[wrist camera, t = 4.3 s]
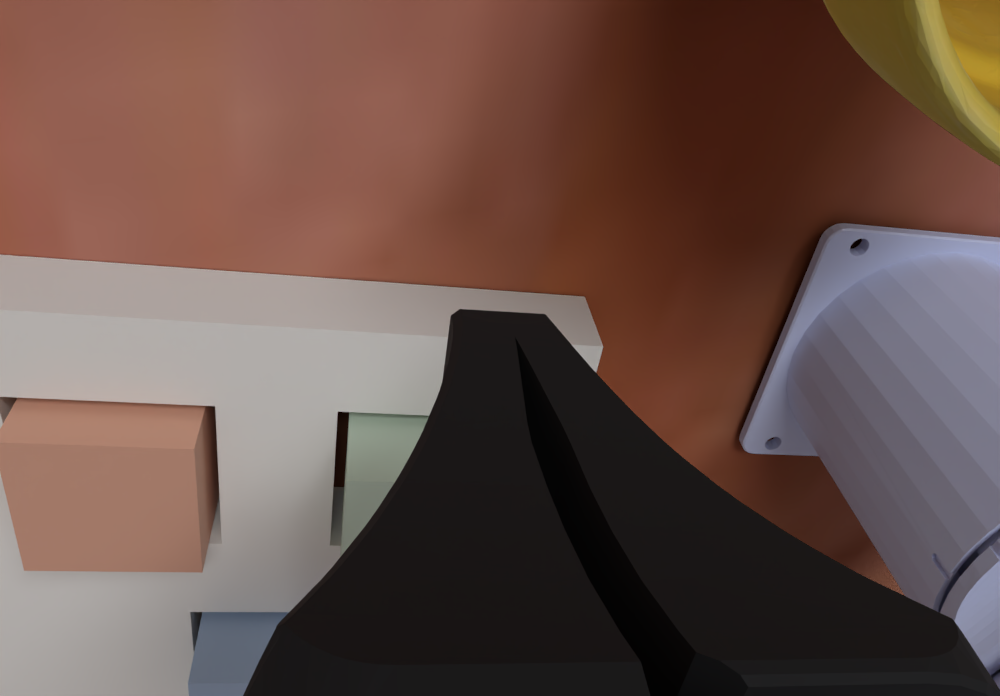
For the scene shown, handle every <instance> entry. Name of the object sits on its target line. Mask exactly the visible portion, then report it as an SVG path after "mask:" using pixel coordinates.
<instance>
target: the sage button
mask: <svg viewBox="0 0 1000 696" xmlns="http://www.w3.org/2000/svg"><path fill="white" fill-rule="evenodd" d="M428 417H429V416H426V415H404V414H381V413H358V412H349V422H348V437H347V452H346V467H345V482H344V497H343V512H342V530H341V550H340V557H341V556H342V554H343V553H344V552H345V551H346V549H347V548H348V547H349V546H350V544H351V543H352V542H353V541H354V539H355V538H356V537H357V536H358V534H359V533H360V532H361V531H362V529H363V528H364V527H365V526H366V524H367V523H368V522H369V520H370V519H371V517H372V516H373V515H374V513H375V512H376V510H377V509H378V507H379V506H380V504H381V503H382V501H383V500H384V498H385V497H386V495H387V494H388V492H389V490H390V489H391V487H392V486H393V484H394V483H395V481H396V480H397V478H398V476H399V475H400V473H401V471H402V469H403V468H404V466H405V464H406V462H407V461H408V459H409V457H410V455H411V453H412V451H413V449H414V448H415V446H416V444H417V442H418V440H419V438H420V436H421V433H422V431H423V429H424V427H425V424H426V422H427V420H428Z"/></svg>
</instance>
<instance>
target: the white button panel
mask: <svg viewBox="0 0 1000 696" xmlns="http://www.w3.org/2000/svg"><path fill="white" fill-rule="evenodd" d="M459 309H468V310H486V311H503V312H520V313H537V314H546V315H547V317H548V318H549V319H550V320H551V321H552V322H553V323H554V325H555V326H556V327H557V328H558V329H559V330H560V332H561V333H562V334H563V335H564V336H565V338H566V339H567V340H568V341H569V342H570V344H571V345H572V346H573V347H574V348H575V349H576V351H577V352H578V353H579V354H580V355H581V356H582V357H583V359H584V360H585V361H586V362H587V363H588V364H589V366H590V367H591V368H592V369H593V370H594V371H595V372H597V368H598V364H599V361H600V357H601V353H602V349H603V345H602V342H601V339H600V336H599V334H598V331H597V328H596V326H595V323H594V320H593V318H592V315H591V312H590V310H589V307H588V304H587V301H586V299H585V297H583V296H569V295H555V294H542V293H528V292H514V291H500V290H486V289H472V288H458V287H444V286H430V285H416V284H402V283H388V282H374V281H360V280H346V279H332V278H318V277H305V276H291V275H277V274H263V273H249V272H235V271H221V270H207V269H193V268H179V267H165V266H151V265H137V264H123V263H109V262H95V261H81V260H68V259H54V258H40V257H26V256H12V255H0V428H1V427H2V425H3V423H4V421H5V419H6V418H7V416H8V414H9V412H10V410H11V409H12V407H13V405H14V403H15V401H16V400H17V398H39V399H62V400H85V401H107V402H130V403H153V404H176V405H199V406H215V412H216V433H217V454H218V475H219V498H218V503H217V507H216V512H215V517H214V521H213V526H212V530H211V535H210V540H209V544H208V549H207V554H206V558H205V563H204V568H203V572H202V573H201V572H99V571H24V568H23V564H22V560H21V556H20V552H19V548H18V544H17V539H16V535H15V531H14V527H13V523H12V519H11V515H10V511H9V507H8V503H7V498H6V494H5V490H4V486H3V482H2V478H1V474H0V696H189V691H188V680H189V676H190V671H191V666H192V661H193V656H194V651H195V646H196V641H197V637H198V632H199V627H200V622H201V617H202V612H290V611H291V610H292V609H293V608H294V607H295V606H296V605H297V604H298V603H299V602H300V601H301V600H302V599H303V598H304V597H305V596H306V594H307V593H308V592H309V591H310V590H311V589H312V588H313V587H314V586H315V585H316V584H317V583H318V582H319V581H320V580H321V579H322V578H323V577H324V576H325V575H326V573H327V572H328V571H329V570H330V569H331V568H332V567H333V566H334V564H335V563H336V562H337V561H338V559H339V558H340V550H341V530H342V512H343V497H344V487H334V473H335V455H336V438H337V420H338V412H358V413H381V414H404V415H426V416H429V415H430V413H431V410H432V408H433V406H434V403H435V401H436V399H437V396H438V393H439V391H440V387H441V384H442V380H443V372H444V364H445V357H446V349H447V341H448V333H449V325H450V317H451V315H452V314H454V313H455V312H456V311H458V310H459Z"/></svg>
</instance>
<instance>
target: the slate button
mask: <svg viewBox="0 0 1000 696" xmlns="http://www.w3.org/2000/svg"><path fill="white" fill-rule="evenodd" d="M288 613H289V612H202V617H201V622H200V627H199V632H198V637H197V641H196V646H195V651H194V656H193V661H192V666H191V671H190V676H189V680H188V691H189V696H243V695H244V693H245V690H246V688H247V686H248V684H249V682H250V679H251V677H252V675H253V673H254V671H255V669H256V667H257V664H258V662H259V660H260V658H261V656H262V654H263V652H264V650H265V648H266V646H267V644H268V642H269V640H270V638H271V637H272V635H273V633H274V631H275V629H276V626H277V624H278V623H279V622H280V621H281V620H282V619H283V618H284V617H285V616H286V615H287V614H288Z"/></svg>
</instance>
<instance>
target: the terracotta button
mask: <svg viewBox="0 0 1000 696" xmlns="http://www.w3.org/2000/svg"><path fill="white" fill-rule="evenodd" d="M0 474H1V478H2V482H3V486H4V490H5V494H6V498H7V503H8V507H9V511H10V515H11V519H12V523H13V527H14V531H15V535H16V539H17V544H18V548H19V552H20V556H21V560H22V564H23V568H24V571H99V572H201V573H202V572H203V568H204V563H205V558H206V554H207V549H208V544H209V540H210V535H211V530H212V526H213V521H214V517H215V512H216V507H217V503H218V498H219V475H218V454H217V433H216V412H215V406H199V405H176V404H153V403H130V402H107V401H85V400H62V399H39V398H17V400H16V401H15V403H14V405H13V407H12V409H11V410H10V412H9V414H8V416H7V418H6V419H5V421H4V423H3V425H2V427H1V428H0Z"/></svg>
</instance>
